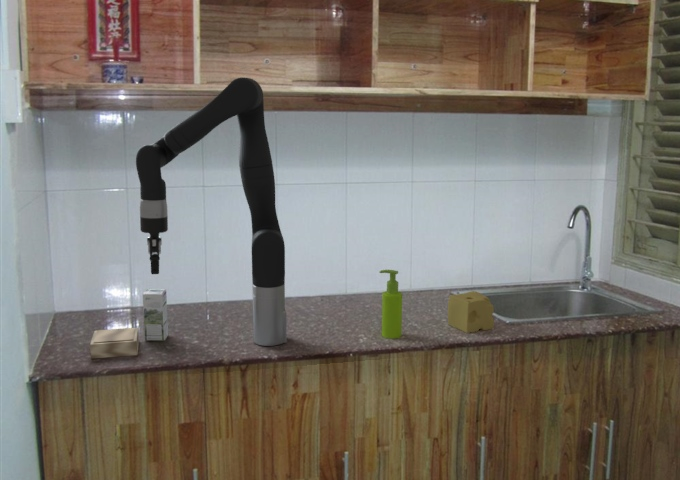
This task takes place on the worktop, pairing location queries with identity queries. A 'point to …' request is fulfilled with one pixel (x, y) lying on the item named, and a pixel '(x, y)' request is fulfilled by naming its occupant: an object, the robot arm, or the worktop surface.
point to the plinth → (114, 343)
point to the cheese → (470, 312)
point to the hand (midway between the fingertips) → (155, 270)
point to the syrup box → (155, 314)
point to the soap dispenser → (391, 308)
